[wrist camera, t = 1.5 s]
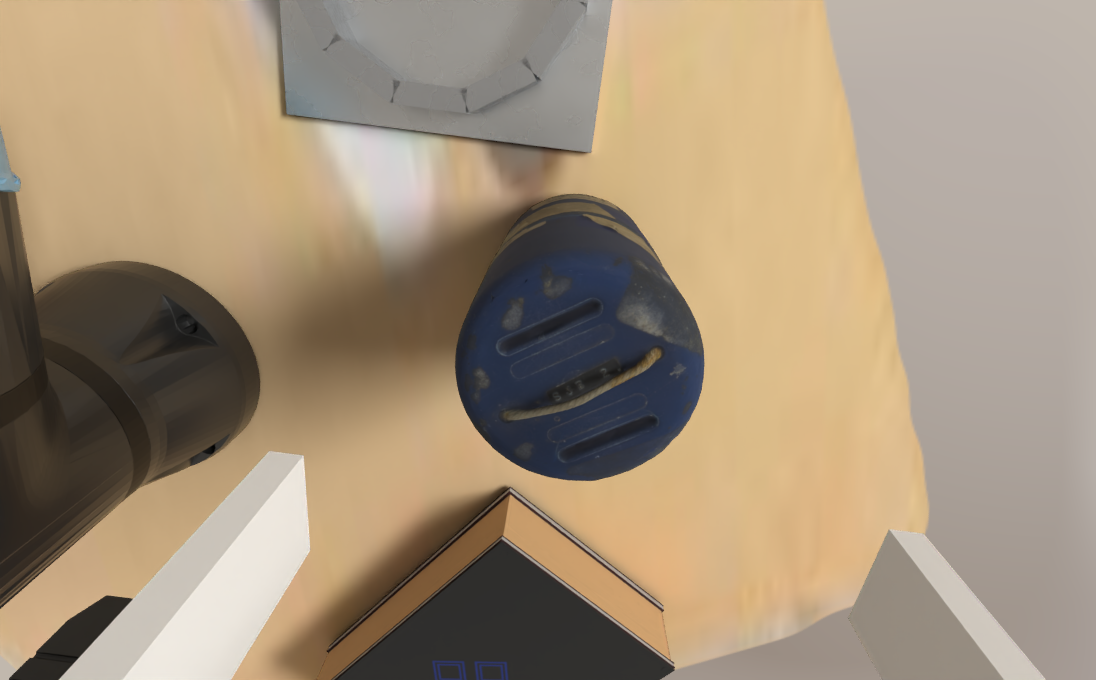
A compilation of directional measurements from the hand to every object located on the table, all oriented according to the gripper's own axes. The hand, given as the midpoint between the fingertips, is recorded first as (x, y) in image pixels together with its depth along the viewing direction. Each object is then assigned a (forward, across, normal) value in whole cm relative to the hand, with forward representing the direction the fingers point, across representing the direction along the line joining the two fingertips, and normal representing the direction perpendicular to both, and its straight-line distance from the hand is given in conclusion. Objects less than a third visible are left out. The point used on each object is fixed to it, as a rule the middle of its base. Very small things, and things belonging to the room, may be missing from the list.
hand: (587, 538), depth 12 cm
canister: (+25, 0, 0) cm, 25 cm away
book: (+25, -3, -33) cm, 42 cm away
